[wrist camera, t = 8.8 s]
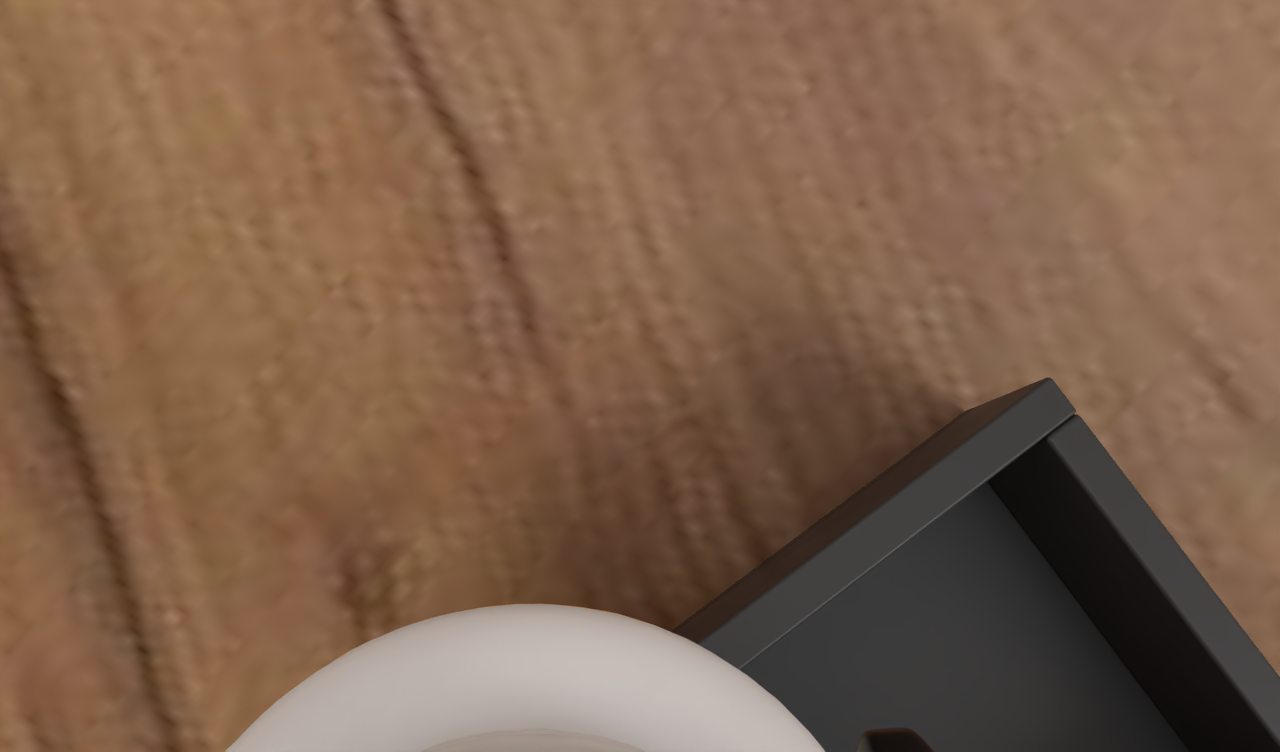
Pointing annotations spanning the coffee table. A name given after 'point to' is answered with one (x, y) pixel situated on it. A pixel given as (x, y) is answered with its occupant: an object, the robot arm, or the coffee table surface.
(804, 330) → the coffee table surface
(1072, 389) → the coffee table surface
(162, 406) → the coffee table surface
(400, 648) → the supplement bottle
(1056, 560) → the dark square open box
